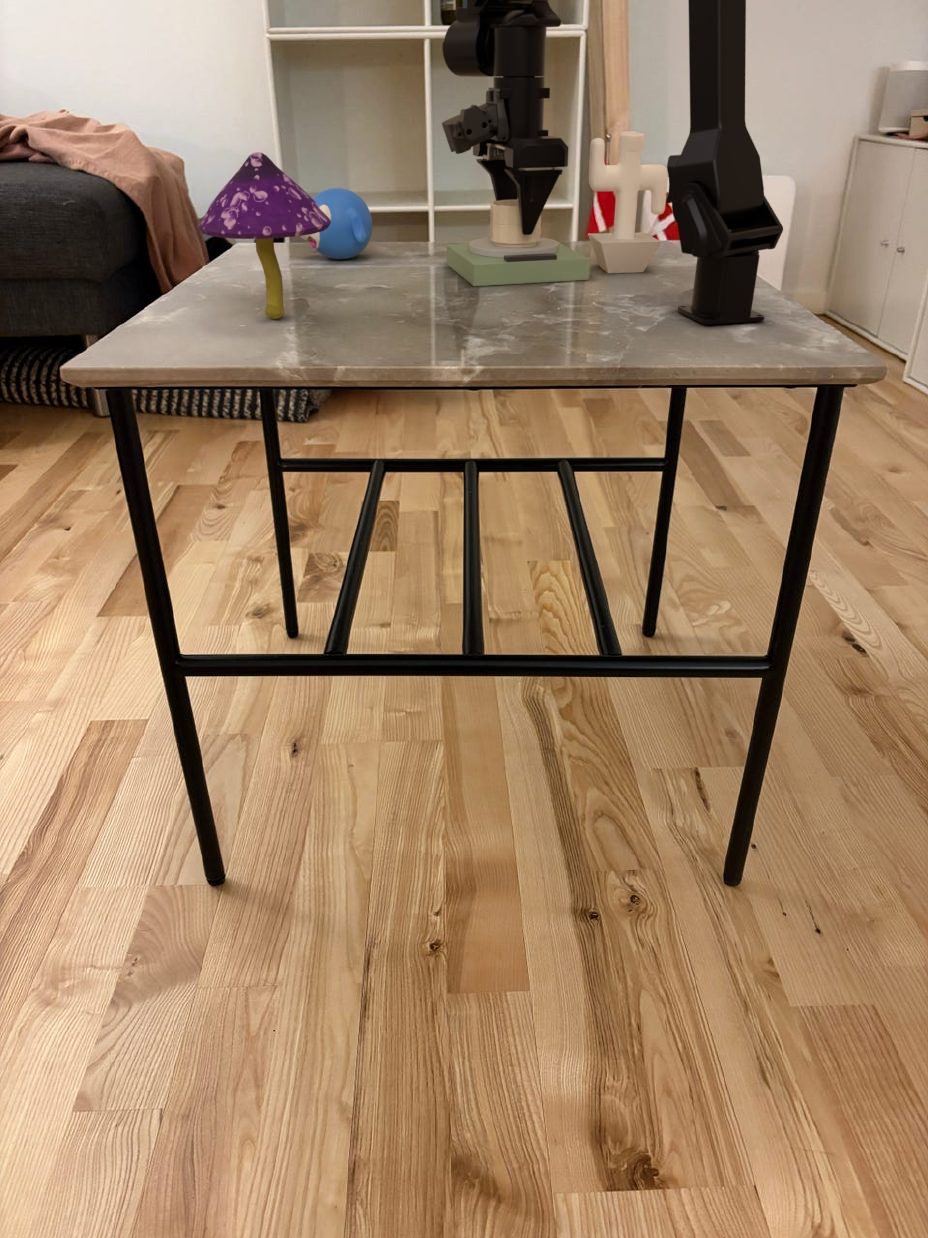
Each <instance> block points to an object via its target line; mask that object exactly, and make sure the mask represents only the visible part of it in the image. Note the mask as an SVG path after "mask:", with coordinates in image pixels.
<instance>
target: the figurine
mask: <svg viewBox="0 0 928 1238" xmlns="http://www.w3.org/2000/svg"><path fill="white" fill-rule="evenodd" d="M618 136H619V137H618V147H617V149H618V153H617V158H618V161H617V164H606V162H605V152H606V151H605V150H606V145H605V141H604V139H603V138H601V137H595V138H593V139H592V140H591V141H590V145H589V158H588V184H589V187H590V189H591V190H592V191H594V192H615V206H614V218H613V219H614V220H613V231H612V232H603V233H601V232H599V233H587V236H588V238H589V242H590V245H591V247H592V249H593V252H594V255H595V258H596V260H597V263H598V265H599V267H600V268H601V269H602V270H603V271H604V272H606V273H607V274H629V273H630V274H632V273H635V274H636V273H644V272H645V270H646V268H647V267H648V265H649V263H650V261H651V260H652V258H653V257H654V255H655V253H656V252H657V250H658V249H659V246H660V245H661V243H662V241H661V240H659V239H657V238H655V237H653V236H652V235H650V234H648V233H646V232H644V231H643V232H641V231H640V232H635V231H636V223H637V222H636V219H637V209H638V195H639V191H641V192H643V191H650V212H651V214H653V215H656V216H658V215H659V216H660V215H663V214H664V212H665V210H666V204H667V202H666V201H667V194H668V191H667V190H668V183H669V177H668V170H667V166H665V165H664V164H660V163H659V164H658V163H657V164H655V163H652V164H651V163H650V164H649V163H648V164H641V159H642V151H643V150H644V143H645V142H644V141H645V134H644V133H642V132H638V131H636V130H632V131H629V130H628V131H627V130H626V131H625V130H624V131H621V132H620V134H619V135H618Z"/></svg>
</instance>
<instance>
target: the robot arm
mask: <svg viewBox="0 0 928 1238" xmlns="http://www.w3.org/2000/svg"><path fill="white" fill-rule="evenodd" d="M687 4H688V62H689V63H688V64H689V65H688V66H689V67H688V68H689V69H688V70H689V72H688V73H689V77H688V78H689V134H688V136H687V138H686V141H685V144H684V146H683V148H682V151H681V152H680V154H673V155H669V156H668V158H667V164H666V169H667V174H668V192H667V196H666V204H671V210H672V216H673V219H674V221H675V223H676V225H677V230H678V231H677V232H678V238H679V244H680V250H681V252H682V254H687V255H691V256H693V257H695V258H696V266H695V272H694V273H695V274H694V280H693V281H694V283H693V290H692V300H691V304H687V305H686V304H685V305H678V306H677V312H679V313H680V314H683V316H686V317H688V318H690V319H691V320H694V321H696V322H697V323H699V324H702V325H706V326H709V325H711V326H712V325H725V324H739V323H741V324H742V323H752V322H753V323H754V322H764V321H765V317H766V315H764V314H762V313H760V312H759V311H758V312H757V311H755V310H753V303H754V296H755V290H756V289H755V288H756V282H757V276H758V270H759V263H760V251H764V250H775V248H776V247H777V245H778V242H779V240H780V239H781V237H782V234H783V232H784V226H783V224H782V223H781V221H780V219H779V218H778V216H777V214H776V213H775V211H774V208H772V206H771V204H770V202H769V201H768V199H767V197H766V196H765V187H764V186H765V185H764V180H763V171H762V164H761V156H760V154H759V151H758V150H757V147H756V145H755V143H754V141H753V139H752V136H751V134H750V132H749V130H748V128H747V124H746V123H747V122H746V54H747V53H746V50H747V49H746V46H747V45H746V43H747V42H746V41H747V40H746V39H747V38H746V36H747V35H746V34H747V31H746V29H747V0H688V3H687ZM456 8H457V9H456V10H455V11H456V20H454V21H453V22H452V23H451V24H450V25H449V27H448V28H447V29H446V32H445V35H444V39H443V41H442V56H443V60H444V63H445V65H446V67H447V68H448V70H449V71H450V72H451V73H453V75H455V76H458V77H464V78H465V77H469V78H471V77H474V78H475V77H476V78H477V77H479V78H480V77H481V78H483V77H485V78H489V77H491V78H492V87H488V90H486V92H485V103H483V104H480V105H477V104H471V105H470V106H469V107H467V108H462V109H460V112H459V114H457V115H455V116H453V117H451V118H448V119H446V120H444V121H442V122H441V125H442V129H443V132H444V135H445V138H446V141H447V144H448V146H449V149H450V150H449V151H450V152H451V153H454V152H455V154H456V155H459V154H463V153H466V152H469V151H470V150H471V149H472V155H473V156H474V157H478V158H477V159H475V160H476V162H477V163H478V164H479V166H481V168H483V169H484V170H485V171H486V173H488V174H489V177H490V181H491V185H492V189H493V193H494V198H495V201H497V200H512V199H518V204H519V213H520V222H521V229H522V234H524V235H531V234H532V233H533V231H534V228H535V226H536V224H537V222H538V219H539V217H540V215H541V213H542V214H543V211H544V208H545V206H546V203H547V202H548V200H549V198H550V195H551V193H552V191H553V190H554V187H555V185H556V184H557V181H558V179H559V177H560V176H562V175H563V171H564V170H563V169H562V168H566V167H568V166H569V146H568V145H567V143H566V142H565V141H564V140H563V139H562V138H561V137H558V136H553V135H549V129H545V128H544V118H545V117H544V116H545V114H544V113H545V99H550V98H551V87H545V85H546V84H545V83H546V77H545V76H546V59H547V58H546V54H547V53H546V52H547V28H559V27H560V26H561V25H562V19H561V18H560V17H559V16H558V14H557V13H556V12H555V11H554V10H553V9H552V7H551V6H550V2H549V0H468V2H467V6H465V7H464V6H463V7H462V6H461V7H456ZM479 157H480V158H479ZM481 157H482V158H481Z"/></svg>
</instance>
